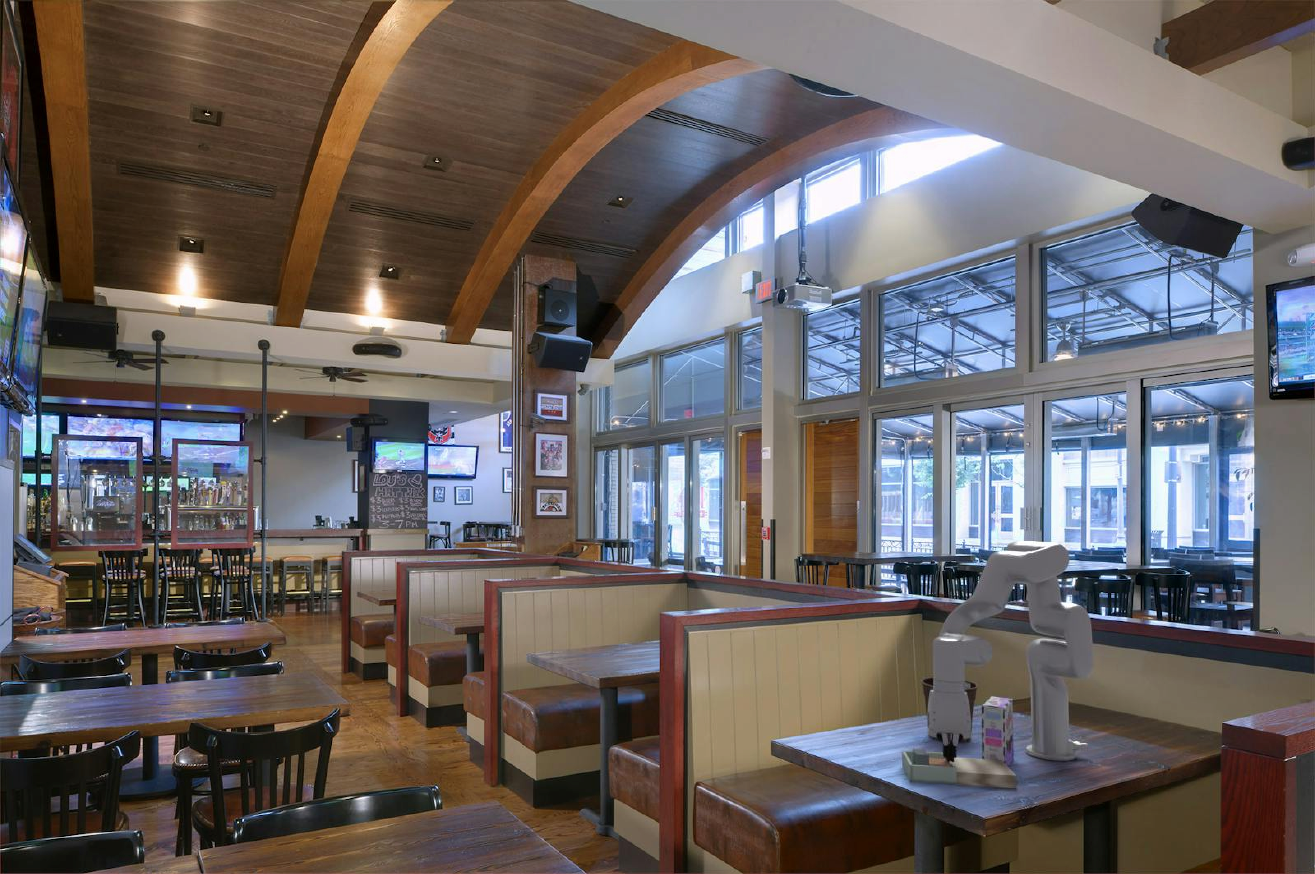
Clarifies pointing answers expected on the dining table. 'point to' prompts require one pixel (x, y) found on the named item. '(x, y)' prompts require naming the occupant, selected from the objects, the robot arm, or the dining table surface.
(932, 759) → the tile
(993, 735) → the candy box
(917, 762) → the tile
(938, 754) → the tray
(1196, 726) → the dining table surface
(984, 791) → the dining table surface
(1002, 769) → the tan wooden slab
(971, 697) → the plant pot
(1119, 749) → the dining table surface
